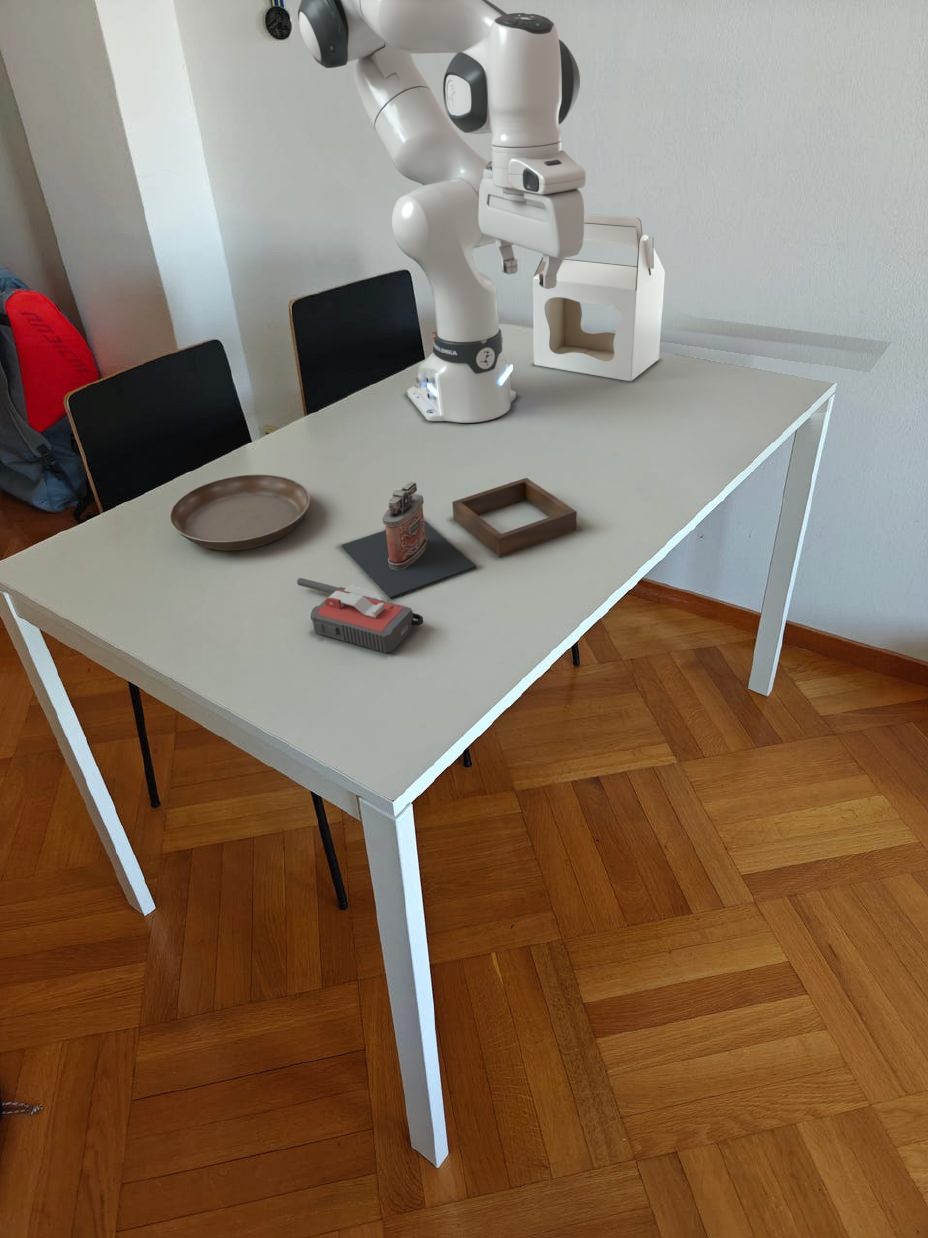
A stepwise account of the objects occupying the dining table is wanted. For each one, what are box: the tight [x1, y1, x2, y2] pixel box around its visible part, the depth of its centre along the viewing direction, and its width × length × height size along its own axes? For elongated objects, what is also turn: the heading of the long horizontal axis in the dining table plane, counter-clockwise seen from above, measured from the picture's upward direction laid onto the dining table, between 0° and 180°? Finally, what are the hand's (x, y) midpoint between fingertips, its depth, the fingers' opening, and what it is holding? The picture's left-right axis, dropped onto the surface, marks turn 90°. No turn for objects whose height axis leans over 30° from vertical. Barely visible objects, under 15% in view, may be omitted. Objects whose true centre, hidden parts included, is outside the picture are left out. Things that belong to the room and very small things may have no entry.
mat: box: [341, 520, 477, 600], centre depth 123 cm, size 16×13×1 cm
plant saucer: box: [169, 473, 311, 551], centre depth 133 cm, size 21×21×3 cm
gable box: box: [532, 213, 666, 382], centre depth 172 cm, size 22×13×28 cm, turn 56°
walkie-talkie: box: [296, 577, 424, 654], centre depth 111 cm, size 9×4×20 cm
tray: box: [451, 477, 578, 558], centre depth 128 cm, size 13×13×3 cm
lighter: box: [382, 480, 428, 570], centre depth 120 cm, size 8×3×10 cm, turn 153°
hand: (528, 279), depth 121 cm, fingers open, 8 cm apart
